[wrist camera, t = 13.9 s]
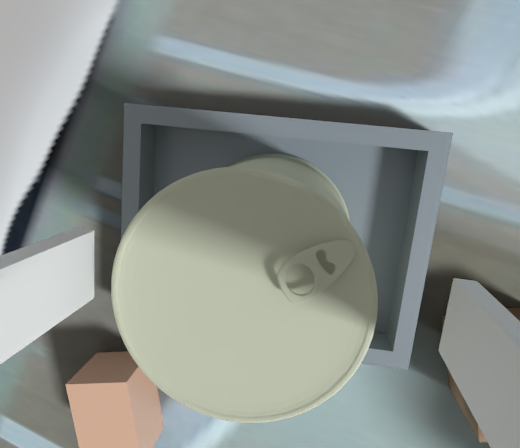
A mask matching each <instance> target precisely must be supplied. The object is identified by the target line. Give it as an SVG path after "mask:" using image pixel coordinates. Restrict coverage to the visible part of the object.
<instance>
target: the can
mask: <svg viewBox="0 0 520 448" xmlns="http://www.w3.org/2000/svg"><path fill="white" fill-rule="evenodd" d="M111 298H112V305H113V312H114V316H115V321H116V324H117V327H118V330H119V332H120V335H121V337H122V340H123V342H124V344H125V346H126V348H127V350H128V352H129V353H130V355H131V356H132V358H133V360H134V361H135V362H136V364H137V365H138V366H139V368H140V369H141V370H142V372H143V373H144V374H145V375H146V376H147V377H148V378H149V379H150V380H151V381H152V382H153V383H154V384H155V385H156V386H157V387H158V388H159V389H161V390H162V391H163V392H164V393H166V394H167V395H168V396H169V397H171V398H172V399H174V400H176V401H177V402H179V403H180V404H182V405H184V406H186V407H188V408H190V409H192V410H194V411H196V412H199V413H202V414H205V415H207V416H210V417H213V418H218V419H222V420H226V421H232V422H241V423H262V422H272V421H278V420H282V419H286V418H290V417H293V416H296V415H299V414H302V413H304V412H306V411H308V410H310V409H312V408H314V407H317V406H318V405H320V404H322V403H323V402H325V401H326V400H327V399H329V398H330V397H332V396H333V395H334V394H335V393H336V392H337V391H339V390H340V389H341V388H342V387H343V386H344V385H345V384H346V383H347V382H348V380H349V379H350V378H351V377H352V376H353V374H354V373H355V372H356V370H357V369H358V367H359V366H360V364H361V362H362V361H363V359H364V357H365V355H366V353H367V351H368V348H369V346H370V343H371V341H372V338H373V334H374V330H375V325H376V320H377V310H378V295H377V284H376V279H375V273H374V270H373V266H372V263H371V260H370V258H369V255H368V252H367V250H366V247H365V245H364V244H363V242H362V240H361V238H360V236H359V235H358V233H357V231H356V230H355V228H354V227H353V226H352V224H351V223H350V219H349V214H348V210H347V207H346V204H345V201H344V199H343V197H342V195H341V193H340V192H339V190H338V189H337V187H336V186H335V184H334V183H333V182H332V181H331V180H330V178H329V177H328V176H327V175H326V174H324V173H323V172H322V171H321V170H320V169H318V168H317V167H315V166H314V165H312V164H310V163H308V162H306V161H305V160H302V159H300V158H296V157H293V156H289V155H284V154H260V155H255V156H251V157H248V158H245V159H243V160H240V161H238V162H236V163H235V164H233V165H231V166H230V167H222V168H214V169H209V170H205V171H201V172H198V173H195V174H192V175H189V176H187V177H184V178H182V179H180V180H178V181H176V182H174V183H172V184H170V185H169V186H167V187H166V188H164V189H163V190H161V191H160V192H158V193H157V194H156V195H155V196H154V197H152V198H151V199H150V200H149V201H148V202H147V203H146V204H145V205H144V206H143V207H142V208H141V209H140V211H139V212H138V213H137V214H136V215H135V217H134V218H133V219H132V221H131V222H130V224H129V226H128V228H127V229H126V231H125V233H124V234H123V237H122V239H121V241H120V244H119V246H118V249H117V252H116V255H115V259H114V264H113V269H112V278H111Z"/></svg>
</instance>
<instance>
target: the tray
mask: <svg viewBox="0 0 520 448" xmlns="http://www.w3.org/2000/svg"><path fill="white" fill-rule="evenodd" d="M452 135H453V133H449V132H438V131H427V130H416V129H405V128H395V127H384V126H373V125H362V124H351V123H340V122H329V121H318V120H307V119H296V118H285V117H274V116H263V115H252V114H242V113H231V112H220V111H209V110H198V109H187V108H176V107H165V106H154V105H143V104H132V103H124V127H123V169H122V211H121V239H122V237H123V234H124V233H125V231H126V229H127V228H128V226H129V224H130V222H131V221H132V219H133V218H134V217H135V215H136V214H137V213H138V212H139V211H140V209H141V208H142V207H143V206H144V205H145V204H146V203H147V202H148V201H149V200H150V199H151V198H152V197H154V196H155V195H156V194H157V193H158V192H160V191H161V190H163V189H164V188H166V187H167V186H169V185H170V184H172V183H174V182H176V181H178V180H180V179H182V178H184V177H187V176H189V175H192V174H195V173H198V172H201V171H205V170H209V169H214V168H222V167H230V166H231V165H233V164H235V163H236V162H238V161H240V160H243V159H245V158H248V157H251V156H255V155H260V154H284V155H289V156H293V157H296V158H300V159H302V160H305V161H306V162H308V163H310V164H312V165H314V166H315V167H317V168H318V169H320V170H321V171H322V172H323V173H324V174H326V175H327V176H328V177H329V178H330V180H331V181H332V182H333V183H334V184H335V186H336V187H337V189H338V190H339V192H340V193H341V195H342V197H343V199H344V201H345V204H346V207H347V210H348V214H349V219H350V223H351V224H352V226H353V227H354V228H355V230H356V231H357V233H358V235H359V236H360V238H361V240H362V242H363V244H364V245H365V247H366V250H367V252H368V255H369V258H370V260H371V263H372V266H373V270H374V273H375V279H376V284H377V295H378V310H377V320H376V325H375V330H374V334H373V338H372V341H371V343H370V346H369V348H368V351H367V353H366V355H365V357H364V359H363V361H362V362H361V363H363V364H370V365H376V366H383V367H390V368H397V369H403V370H408V368H409V363H410V358H411V353H412V347H413V342H414V337H415V331H416V326H417V321H418V315H419V310H420V305H421V299H422V294H423V289H424V283H425V278H426V273H427V267H428V262H429V257H430V252H431V246H432V241H433V236H434V230H435V225H436V220H437V214H438V209H439V204H440V198H441V193H442V188H443V182H444V177H445V172H446V167H447V161H448V156H449V151H450V145H451V140H452Z"/></svg>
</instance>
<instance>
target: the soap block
mask: <svg viewBox="0 0 520 448" xmlns="http://www.w3.org/2000/svg"><path fill="white" fill-rule="evenodd" d="M65 385H66V390H67V394H68V399H69V403H70V408H71V412H72V417H73V421H74V426H75V430H76V435H77V439H78V444H79V448H154V446H155V444H156V442H157V440H158V438H159V436H160V434H161V432H162V430H163V428H164V424H163V418H162V412H161V406H160V401H159V395H158V389H157V386H156V385H155V384H154V383H153V382H152V381H151V380H150V379H149V378H148V377H147V376H146V375H145V374H144V373H143V372H142V370H141V369H140V368H139V366H138V365H137V364H136V362H135V361H134V360H133V358H132V356H131V355H130V353H129V352H128V351H123V352H101V353H96V354H95V355H94V356H93V357H92V358H91V359H90V360H89V361H88V362H87V363H86V364H85V365H84V366H83V367H82V368H81V369H80V370H79V371H78V372H77V373H76V374H75V375H74V376H73V377H72V378H71V379H70V380H69V381H68V382H67V383H66V384H65Z"/></svg>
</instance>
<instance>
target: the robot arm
mask: <svg viewBox="0 0 520 448" xmlns="http://www.w3.org/2000/svg"><path fill="white" fill-rule="evenodd" d="M93 298H94V230H87V229H80V228H74V229H72V230H69V231H66V232H64V233H61V234H58V235H56V236H53V237H50V238H48V239H45V240H42V241H40V242H37V243H34V244H31V245H29V246H26V247H23V248H21V249H18V250H15V251H13V252H10V253H7V254H5V255H2V256H0V364H1V363H3V362H4V361H6V360H7V359H8V358H10V357H11V356H13V355H14V354H16V353H17V352H18V351H20V350H21V349H23V348H24V347H25V346H27V345H28V344H30V343H31V342H33V341H34V340H35V339H37V338H38V337H40V336H41V335H42V334H44V333H45V332H47V331H48V330H49V329H51V328H52V327H54V326H55V325H57V324H58V323H59V322H61V321H62V320H64V319H65V318H66V317H68V316H69V315H71V314H72V313H73V312H75V311H76V310H78V309H79V308H81V307H82V306H83V305H85V304H86V303H88V302H89V301H90V300H92V299H93ZM438 351H439V353H440V355H441V357H442V358H443V360H444V362H445V364H446V366H447V368H448V370H449V371H450V373H451V375H452V377H453V379H454V381H455V383H456V384H457V386H458V388H459V390H460V392H461V394H462V396H463V397H464V399H465V401H466V403H467V405H468V407H469V409H470V410H471V412H472V414H473V416H474V418H475V420H476V422H477V423H478V425H479V427H480V429H481V431H482V433H483V435H484V436H485V438H486V440H487V442H488V444H489V446H490V448H520V321H519V320H518V319H517V318H516V317H515V316H514V315H513V314H512V313H510V312H509V311H508V310H507V309H506V308H505V307H504V306H503V305H502V304H501V303H500V302H499V301H498V300H497V299H496V298H495V297H493V296H492V295H491V294H490V293H489V292H488V291H487V290H486V289H485V288H484V287H483V286H482V285H481V284H480V283H479V282H478V281H473V280H465V279H458V278H453V283H452V288H451V292H450V297H449V302H448V307H447V312H446V317H445V321H444V326H443V331H442V336H441V341H440V346H439V350H438Z"/></svg>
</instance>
